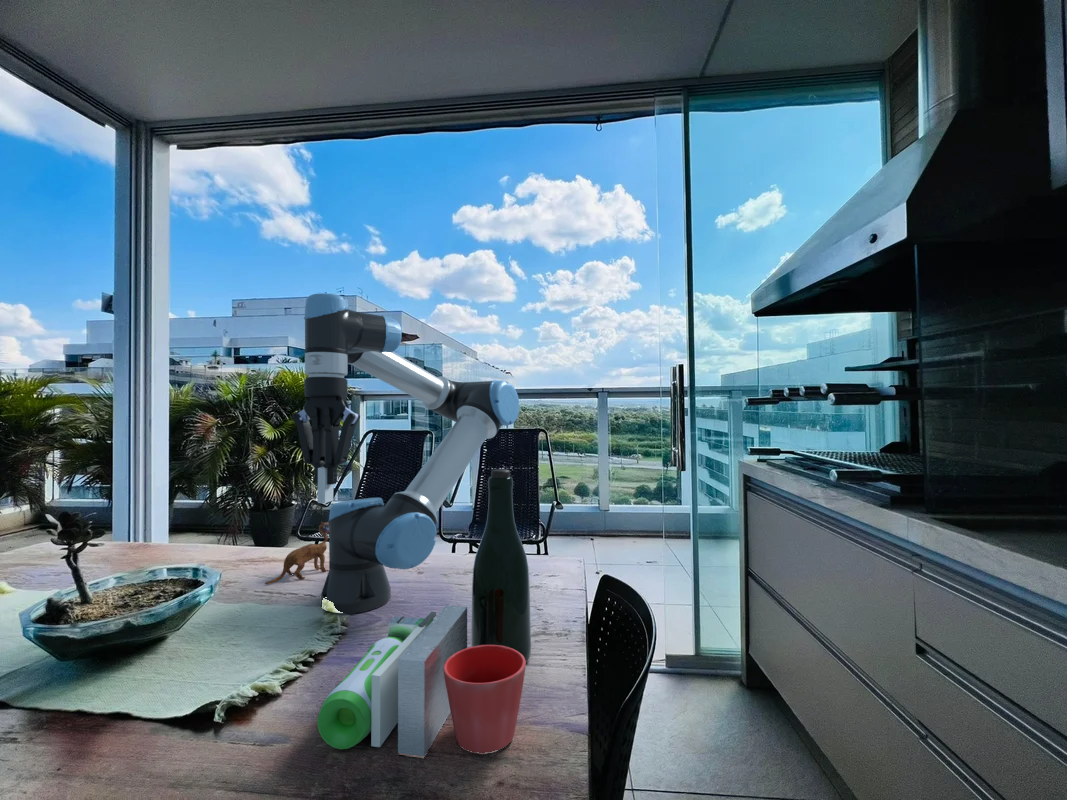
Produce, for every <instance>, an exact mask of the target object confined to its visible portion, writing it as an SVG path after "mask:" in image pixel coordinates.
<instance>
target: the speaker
mask: <svg viewBox="0 0 1067 800" xmlns="http://www.w3.org/2000/svg"><path fill="white" fill-rule="evenodd" d="M402 642H403V640H401V639H399V638H397V637H387V636H386V637H384V638H382V639H379V640H377V641H376V642H374V643H373V644H372V645H371V646H370V647H369V649H368V650H367V652H366V653H365V655H364V656H363V657H362V658H361V659H360V660H359V661H358V662H357V663H356V664H355V666H354V667H353V668H352V669H351V671H349V673H348V674H347V675H346V676H345V677H344V679H342V681H341V682H340V683H339V684H338V685H336V687H334V688H333V689H332V690H331V691H330V692H329V694H328V695H327V696H326V698H325V700H324V702H323V703H322V706H321V707H320V710H319V713H318V716H317V721H316V722H317V724H316V725H317V730H318V732H319V735H320V736H321V738H322V740H323V741H324V742H325V743H326V744H327V745H329V747H332V748H334V749H337V750H347V749H350V748H353V747H354V746H356V745H357V744H359V743H360V742H361V741H363V740H364V739H365V738H366V737H367V736H369V734H370V733H371V698H372V674H373V673H374V672H375V671H376V670H377V669H378V668H379V667H380V666H381V665H382V664H383V663H384V661H385V660H386V659H387V658H388V657H389V656H390V655H391V654H392V653H393V652H394V651H395V650H396V649H397V648H398V647H399V646H400V644H401V643H402Z"/></svg>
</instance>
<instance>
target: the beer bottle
mask: <svg viewBox="0 0 1067 800" xmlns="http://www.w3.org/2000/svg"><path fill="white" fill-rule="evenodd" d="M487 481H488V482H487V486H488V505H487V507H488V509H487V516H486V523H485V527H484V531H483V534H482V536H481V540H480V543H479V545H478V548H477V550H476V553H475V556H474V560H473V561H474V562H473V567H472V581H471V619H470V620H471V621H470V622H471V625H470V626H471V627H470V628H471V629H470V630H471V631H470V633H471V634H470V635H471V638H470V641H471V643H470V644H471V645H470V647H474V646H480V645H500V646H505V647H509V648H512V649H514V650H516V651H518V652H520V653H521V654H522V655H523V656H524V658H525V661H526V663H528V661H529V659H530V658H531V655H532V654H531V653H532V626H531V625H532V623H531V622H532V621H531V586H530V585H531V583H530V571H529V570H530V567H529V563H528V557H527V553H526V551H525V548H524V545H523V543H522V540H521V537H520V535H519V532H518V530H517V525H516V522H515V515H514V502H513V501H514V500H513V487H514V480H513V477H512V476H511V471H510V470H509V469H505V468H504V469H502V468H501V469H500V468H499V469H491V472H490V476H489V477H488V480H487Z"/></svg>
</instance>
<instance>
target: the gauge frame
mask: <svg viewBox="0 0 1067 800" xmlns="http://www.w3.org/2000/svg"><path fill="white" fill-rule="evenodd" d="M425 618H426V617H424V618H421V617H419V618H418V617H417V618H416V617H405V616H394V617H393V618H392V619H391V620H390V621H389V622H388V635H387V636H388V637H397V638H399V639H401V640H403V641H404V640H405V639H406V638H407V637H408V636H409V635H410V634H411V633H412V632H413V631H414V630H415V629H416V628H417V626H418V625H419V624H420V623H421V622H422V621H423V620H424V619H425ZM466 648H468V606H461V605H460V606H459V605H445V607H443V609H442V610H441V611H440V612H439V613H438V614H436V616H435V617H434V618H433V620H432V621H431V622H430V623H429V624H428V625H427V626H426V629H425V630H424V631H423V632H422V633H421V634H420V635H419V637H418V638H417V639H416V640H415V641H414V642H413V643H412V644H411V646H410V647H409V648H408V649H407V650H406V651H405V652H404V653H403V654H402V656H401V657H400V658H399V659H398V723H397V754H398V753H401V754H402V753H403V754H409V755H410V754H411V755H418V756H425V754H426V753H427V751H428V749H429V748H430V746H431V744H432V742H433V741H434V739H435V737H436V735H437V734H438V732H439V731H440V732H441V730H442V728H443V727H444V725H443V724H445V723H446V721H447V720H446V719H448V717H449V716H450V715H451V711H450V705H449V700H448V694H447V689H446V683H445V678H444V671H443V669H444V664H445V662H446V661H447V660H448V659H449V658H450V657H451V656H452V655H453V654H455V653H457V652H459V651H461V650H463V649H466ZM442 726H443V727H442ZM440 729H441V730H440ZM440 732H439V733H440ZM438 735H439V734H438ZM436 738H437V737H436ZM435 740H436V739H435ZM434 742H435V741H434ZM432 745H433V744H432ZM431 747H432V746H431ZM430 749H431V748H430ZM428 752H429V751H428ZM427 754H428V753H427Z"/></svg>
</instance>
